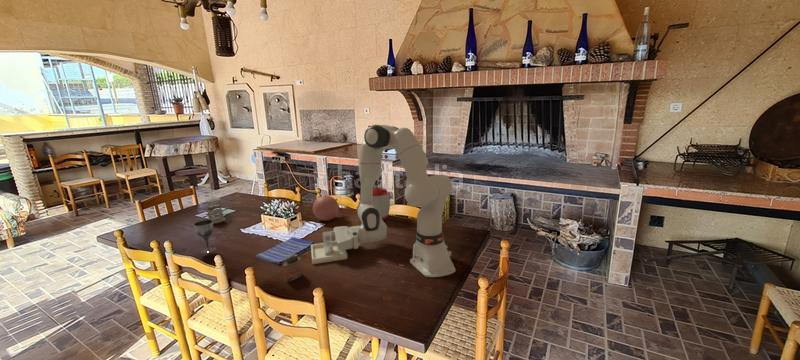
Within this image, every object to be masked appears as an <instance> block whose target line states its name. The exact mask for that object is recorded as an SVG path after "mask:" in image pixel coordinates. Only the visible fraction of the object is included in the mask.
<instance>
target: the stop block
mask: <svg viewBox="0 0 800 360" xmlns="http://www.w3.org/2000/svg"><path fill="white" fill-rule="evenodd" d="M331 231H332V230H330V231H322V241H323V242H322V243H324V252H325V255H327V254H333V246H331V245H329V246H327V245H326V241H333V236H332V233H331Z"/></svg>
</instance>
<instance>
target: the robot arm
mask: <svg viewBox="0 0 800 360" xmlns="http://www.w3.org/2000/svg"><path fill="white" fill-rule="evenodd" d="M363 137H364V141H362V142H361V144H360V146H359V152H358V153H359V154H358V174H359V180H360V196H359V198H360V199H359V203H358V205H357V206H356V211H355V212H356V213H355V214H356V217H357V219H358V220H360V222H361V224H360V225H355V226H354V225H353V226H347V225H342V226H335V227H333V230H330V231H331V233H332V237H334V239H335V240H332V241H326V245H327V246H329V245H331V246H337V248H338V249H339V250H346V251H347V250H352V249H354V250H357V249H358V248H359V247H360V245H362V244H364V243H374V242H379V241H383V240H385V238H387V235H388V226H387V224H386V223H385V222H384V220H382V218H381V216H380V214H379V211H378V210H377V209H376V208H375V207H374V205H373V202H372V198H373V189H374V186H375V183H376V181H378V179H380V177H381V173H382V165H383V164H382V163H383V162H382V159H383V158H382V156H383V152H384V151H392V150H394V151H395V153H396V154H397V158H399V161H400V163H401V165H402V168H403V170H404V171H405V175H406V186H405V190H404V198H405V200H406V202H407V203H408V204H409V205H410V206H411V207H421V208H420V209H419V211H418V212H417V215H416V230H415V231H416V232H415V237H416V238H415V239H416V240H415V242H414V244H413V247H412V258H410V259H409V263H410V264H411V265H412V266H413V267H414V268H416V270H417V271H419V273H421V274H422V275H423V276H424V277H426V278H439V277H444V276H450V275H452V274H454V273H455V272H456V267H455V266H454V263H453V261H452V259H451V256H452V251H451V250H448V245H447V244H446V243H445V240H444V233H443V229H442V228H443V213H444V209H445V205H446V202H447V199H448V198H449V195H450V193H451V192H452V190H453V182H452V179H451V178H450V177H449V176H448V175H446V174H434V175H430V176H429V175H428V172H427V167H428V164H429V160H428V157H427V155H426V154H425V152H424V149H423V148H422V146H421V144H420V142H419V140H418V138H417V137H416V135H415V134H414V133H413V132H412V130H411V129H409V128H408V127H401V128H399V127H396V126H391V125H388V124H373V125H370V126H369V127H367V128H366V129H365V132H364V136H363Z"/></svg>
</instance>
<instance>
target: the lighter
mask: <svg viewBox="0 0 800 360" xmlns="http://www.w3.org/2000/svg"><path fill="white" fill-rule="evenodd" d="M282 267H283V275H284V282H285V283H289V282H291V281H294V280H296V279H298V278H300V277H302V276H303V272H302V258H301V257H299V255H297V254H295V255H290V257H288V258H285V259H284V263H282Z"/></svg>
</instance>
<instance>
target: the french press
mask: <svg viewBox="0 0 800 360" xmlns="http://www.w3.org/2000/svg"><path fill="white" fill-rule="evenodd" d="M212 183H213V182H211V181H208V183H207V184H208V185H209V187H210V189H212V187H211V185H212ZM210 193H211V195H213V191H210ZM220 199H221V198H220V197H218V196H211V197H209V198H207V199H205V200H204V201H205V203H207V204H208V203H209V204H210V203H212V204H210V205H208V206H207V208H206V209H207V211H206V212H207V216H208V220H212V221H213V224H218V223H222V222H224V221H225V220H226V218H225V217H224V214H223V213H224V212H225V211H226V209H227V204H226V202H225V201H222V200H220ZM218 201H219V203H215V202H218ZM214 203H215V204H214ZM221 204H224V210H223V209H222V206H221ZM222 210H223V211H222Z"/></svg>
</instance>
